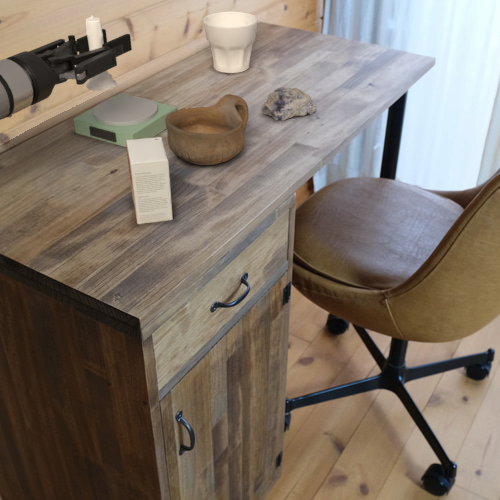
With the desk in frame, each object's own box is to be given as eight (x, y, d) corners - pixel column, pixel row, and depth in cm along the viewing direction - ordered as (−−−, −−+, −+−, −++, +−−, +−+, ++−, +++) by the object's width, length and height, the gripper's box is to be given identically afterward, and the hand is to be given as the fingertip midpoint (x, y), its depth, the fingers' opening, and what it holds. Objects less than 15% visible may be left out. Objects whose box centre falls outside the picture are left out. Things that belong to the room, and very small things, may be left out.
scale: (74, 133, 123) (71, 115, 121) (121, 107, 133) (119, 89, 131) (133, 150, 118) (131, 131, 115) (177, 121, 128) (176, 103, 126)
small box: (132, 198, 104) (124, 139, 98) (167, 194, 105) (161, 135, 99) (136, 225, 98) (129, 163, 92) (173, 221, 99) (168, 159, 93)
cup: (194, 70, 150) (192, 22, 144) (222, 54, 159) (221, 8, 152) (241, 80, 145) (240, 30, 139) (267, 63, 154) (268, 15, 147)
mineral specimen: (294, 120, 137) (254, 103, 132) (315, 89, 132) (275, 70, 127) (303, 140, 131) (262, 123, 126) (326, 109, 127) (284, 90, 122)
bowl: (191, 118, 125) (202, 72, 119) (256, 148, 124) (270, 103, 117) (146, 157, 112) (156, 107, 105) (218, 192, 110) (232, 143, 104)
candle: (82, 83, 114) (71, 13, 107) (111, 77, 116) (103, 9, 109) (91, 93, 110) (80, 22, 103) (121, 88, 112) (113, 17, 105)
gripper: (-19, 95, 102) (81, 52, 119) (66, 118, 95) (159, 69, 112) (-31, 48, 98) (74, 10, 114) (57, 69, 91) (156, 25, 107)
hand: (116, 39), depth 113 cm, fingers closed on candle, 5 cm apart
